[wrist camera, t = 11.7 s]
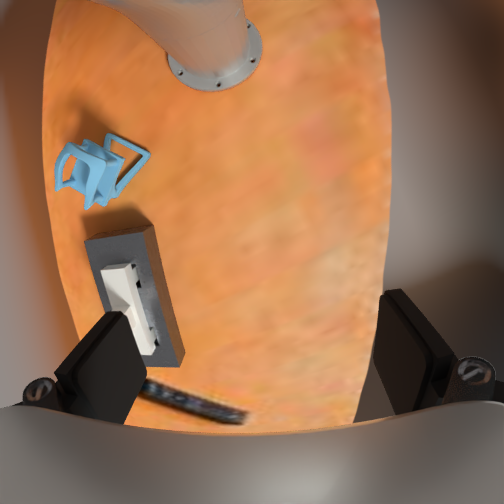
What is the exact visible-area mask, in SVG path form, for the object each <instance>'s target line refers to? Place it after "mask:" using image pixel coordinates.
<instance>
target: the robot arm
mask: <svg viewBox="0 0 504 504" xmlns="http://www.w3.org/2000/svg"><path fill="white" fill-rule="evenodd" d="M89 1H91V2H94V3H97V4H101V5H104V6H107V7H109V8H112V9H114V10H116V11H118V12H120V13H122V14H123V15H125V16H126V17H128V18H129V19H130V20H132V21H133V22H134V23H135V24H136V25H138V26H139V27H140V28H141V29H142V30H143V31H144V32H145V33H147V34H148V35H149V36H150V37H151V38H152V39H153V40H154V41H155V42H156V43H157V44H159V45H160V46H161V47H162V48H163V49H164V50H165V51H166V52H167V53H168V62H169V66H170V68H171V70H172V72H173V74H174V75H175V76H176V78H177V79H178V80H180V81H181V82H182V83H183V84H185V85H186V86H188V87H190V88H193V89H195V90H199V91H204V92H216V91H223V90H226V89H230V88H232V87H234V86H236V85H239V84H240V83H242V82H243V81H245V80H246V79H247V78H248V77H249V76H250V75H251V74H252V73H253V72H254V71H255V69H256V68H257V66H258V64H259V62H260V59H261V55H262V40H261V36H260V34H259V31H258V30H257V28H256V27H255V26H254V24H253V23H251V22H250V21H249V20H248V19H246V17H245V11H244V6H243V0H89ZM247 27H249V28H247ZM251 61H255V62H254V63H251ZM181 73H183V74H182V75H181V76H180V74H181ZM218 84H221V86H220V87H217V85H218ZM373 359H374V364H375V367H376V369H377V371H378V374H379V376H380V378H381V381H382V383H383V385H384V388H385V390H386V392H387V395H388V397H389V400H390V402H391V405H392V407H393V409H394V412H395V414H396V415H395V416H391V417H386V418H382V419H376V420H371V421H365V422H360V423H353V424H347V425H341V426H334V427H327V428H319V429H310V430H299V431H286V432H269V433H201V432H184V431H172V430H161V429H152V428H144V427H137V426H130V425H123V424H124V422H125V420H126V418H127V416H128V413H129V411H130V409H131V407H132V405H133V403H134V401H135V399H136V397H137V395H138V393H139V391H140V389H141V387H142V385H143V383H144V381H145V379H146V376H147V370H146V367H145V364H144V362H143V359H142V357H141V354H140V351H139V349H138V346H137V343H136V340H135V337H134V335H133V332H132V329H131V326H130V323H129V320H128V317H127V316H126V315H124V314H123V312H121V311H107V312H106V313H105V314H104V315H103V316H102V317H101V319H100V320H99V321H98V322H97V323H96V324H95V325H94V326H93V328H92V329H91V330H90V331H89V332H88V333H87V334H86V335H85V337H84V338H83V339H82V340H81V341H80V342H79V343H78V345H77V346H76V347H75V348H74V349H73V350H72V352H71V353H70V354H69V355H68V356H67V357H66V359H65V360H64V361H63V362H62V363H61V365H60V366H59V367H58V368H57V369H56V371H55V372H54V374H55V376H56V377H57V379H58V381H57V382H56V383H55V381H54V380H53V379H51V378H48V377H42V378H38V379H36V380H34V381H32V382H31V383H29V384H28V386H26V388H25V389H24V391H23V402H20V403H17V404H15V405H12V406H9V407H4V408H0V504H504V382H500V381H497V380H495V378H496V375H495V370H494V368H493V366H492V365H491V364H490V363H489V362H488V361H486V360H484V359H482V358H479V357H465V358H462V359H460V360H458V359H457V357H456V356H455V355H454V352H453V351H452V350H451V348H450V347H449V346H448V345H447V343H446V342H445V341H444V339H443V338H442V337H441V336H440V334H439V333H438V332H437V331H436V329H435V328H434V327H433V326H432V325H431V323H430V322H429V321H428V320H427V318H426V317H425V316H424V315H423V314H422V312H421V311H420V310H419V309H418V308H417V307H416V305H415V304H414V303H413V302H412V301H411V300H410V298H409V297H408V296H407V295H406V294H405V293H404V292H403V291H402V289H393V290H387V291H385V293H384V295H381V296H380V300H379V311H378V321H377V331H376V339H375V347H374V355H373Z"/></svg>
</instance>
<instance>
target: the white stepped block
mask: <svg viewBox="0 0 504 504" xmlns="http://www.w3.org/2000/svg"><path fill="white" fill-rule="evenodd" d="M101 274H102V278H103V281H104V285H105V288H106V291H107V294H108V297H109V301H110V304H111V307H112V311H121V312H123V314H124V315H126V316H127V317H128V320H129V323H130V326H131V329H132V332H133V335H134V337H135V340H136V343H137V346H138V349H139V351H140V354H141V355H152V354H153V352H154V350H155V348H156V347H155V344H154V341H155V340H156V338H157V337H156V334H155V331H154V327H149V326H148V323H147V320H146V317H145V313H144V310H143V307H142V303H141V300H140V297H139V293H138V290H137V286H136V282H137V281H138V280H139V276H138V272H137V268H136V264H131V263H126V264H116V265H107V266H106V267H104V268H103V269H102V270H101Z"/></svg>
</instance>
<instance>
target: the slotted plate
mask: <svg viewBox="0 0 504 504" xmlns="http://www.w3.org/2000/svg"><path fill="white" fill-rule="evenodd" d="M84 243H85V247H86V251H87V254H88V258H89V262H90V265H91V269H92V272H93V276H94V279H95V282H96V286H97V289H98V292H99V295H100V298H101V301H102V304H103V307H104V310H105V313H106V312H107V311H112V307H111V304H110V301H109V297H108V294H107V291H106V288H105V285H104V281H103V278H102V274H101V270H102V269H103V268H104V267H106V266H107V265H116V264H126V263H131V264H136V268H137V272H138V276H139V280H138V281H137V282H136V286H137V290H138V293H139V297H140V300H141V303H142V307H143V310H144V313H145V317H146V320H147V323H148V326H149V327H154V331H155V334H156V337H157V338H156V340H155V341H154V344H155V347H156V348H155V350H154V352H153V354H152V355H141V357H142V359H143V362H144V364H145V367H180V365H181V363H182V360H183V358H184V355H185V349H184V346H183V343H182V339H181V336H180V332H179V329H178V325H177V322H176V318H175V314H174V311H173V307H172V303H171V299H170V295H169V291H168V287H167V283H166V279H165V275H164V271H163V266H162V262H161V258H160V253H159V248H158V244H157V239H156V234H155V229H154V225H150V226H143V227H137V228H130V229H124V230H118V231H111V232H105V233H99V234H96V235H94V236H93V237H91V238H89V239H87V240H85V241H84Z"/></svg>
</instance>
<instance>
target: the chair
mask: <svg viewBox="0 0 504 504" xmlns="http://www.w3.org/2000/svg"><path fill="white" fill-rule="evenodd" d="M111 139H113V140H115V141H117V142H119V143H121V144H123V145H124V146H126V147H128V148H130V149H132V150H134V151H136V152H138V153H140V154H142V156H143V157H142V158H141V159H140V160H139V161H138V162H137V163H136V164H135V166H134V167H133V168H132V169H131V170H130V171H129V172H128V173H127V174H126V175H125V176H124V177H123V178H122V179H121V180H120V182H119V183H118V184H117V185H116V186H115V184H116V180H117V177H118V174H119V172H120V170H121V168H122V165H123V163H124V161H125V158H123V157H121V156H119V155H118V154H115V153H113V152H111V151H110V145H111ZM70 155H73V156H75V157H76V158H77V160H76V163H75V166H74V169H73V171H72V174H71V177H70V179H69V180H67V181H64V182H63V181H62V173H63V168H64V165H65V162H66V161H67V159H68V157H69V156H70ZM150 156H151V153H150V152H148V151H146V150H144V149H142V148H140V147H138V146H136V145H134V144H132V143H130V142H128V141H126V140H124V139H122V138H120V137H118V136H116V135H114V134H111V133H107V134H106V137H105V140H104V146H103V147H101V146H100V145H98V144H96V143H94V142H92V141H90V140H88V139H84V141H83V143H82V146H80V145H77V144H75V143H72V142H68V143H67V144H66V145H65V147H64V148H63V150H62V151H61V153H60V154H59V156H58V158H57V160H56V163H55V169H54V170H55V191H58V190H59V189H61V188H63V187H67V186H70V187H72V188H73V189H75V190H77V191H79V192H80V193H82V194H84V195H85V204H84V209H85V210H87V209H88V208H90V207H91V206H92V205H93V204H94V203H95V202H96V203H98V204H100V205H101V206H103V207H104V206H106V205H107V203H108V201H109V200H110V199H111V198H117V197H118V196H119V194H120V193H121V191H122V190H123V189H124V187H125V186H126V185H127V184H128V183H129V181H130V180H131V179H132V178H133V177H134V176H135V174H136V173H137V172H138V171H139V170H140V169H141V168H142V167H143V165H144V164H145V163H146V162H147V161H148V159H149V158H150Z"/></svg>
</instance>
